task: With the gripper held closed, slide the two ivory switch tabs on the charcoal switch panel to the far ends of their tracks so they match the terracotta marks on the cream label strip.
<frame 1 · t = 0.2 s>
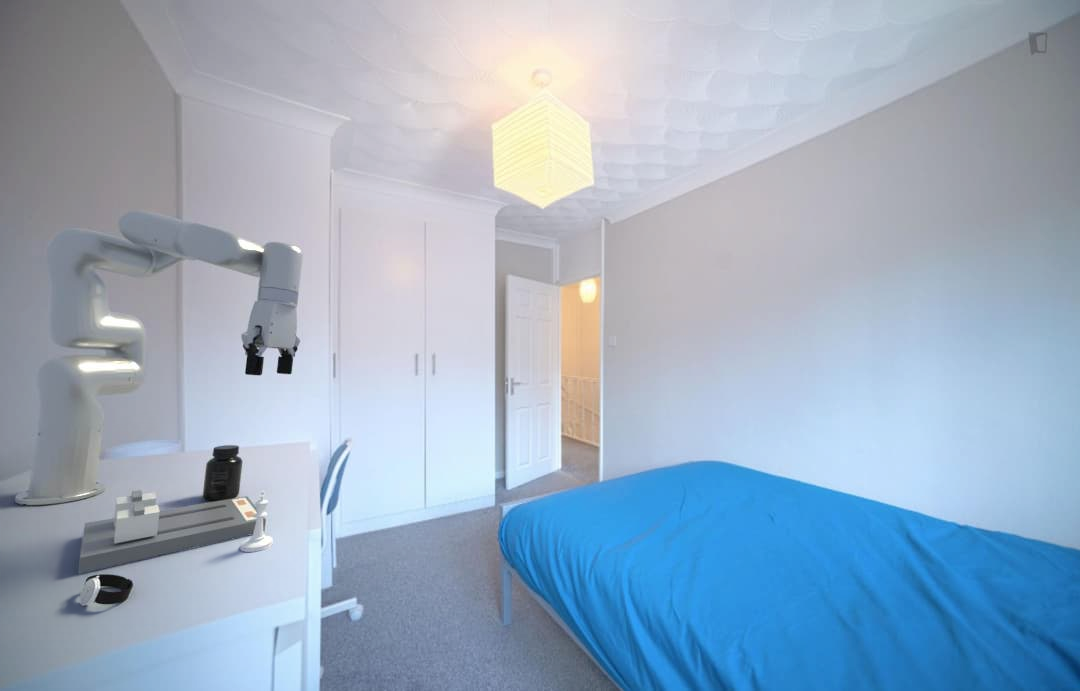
hand: (269, 374, 86), 31 cm above the table, tool pointing down, fingers open, 9 cm apart
switch b: (137, 520, 66), point 5 cm above the table, slide at 0.0 cm
chess piece: (256, 546, 71), on the table
supplement bottle: (220, 498, 92), on the table
switch panel: (178, 534, 73), on the table
watch: (105, 599, 54), on the table
switch a: (135, 506, 72), point 5 cm above the table, slide at 0.0 cm
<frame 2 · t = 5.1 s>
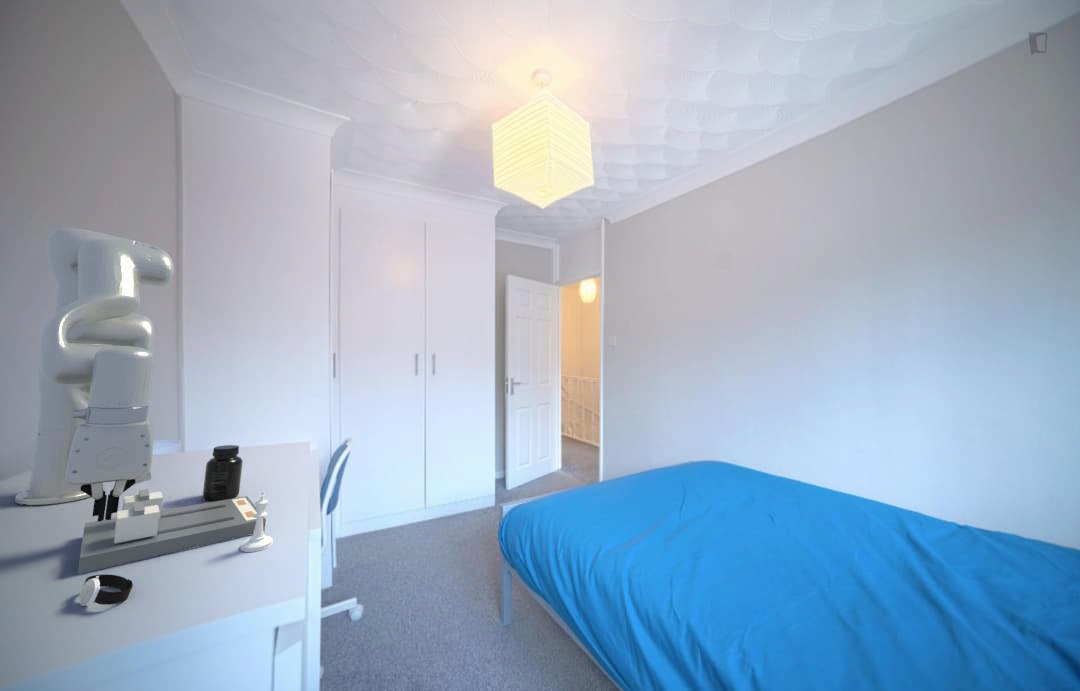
hand: (104, 518, 69), 4 cm above the table, tool pointing down, fingers closed
switch a: (142, 505, 72), point 5 cm above the table, slide at 0.9 cm, touching gripper
everything else where it was.
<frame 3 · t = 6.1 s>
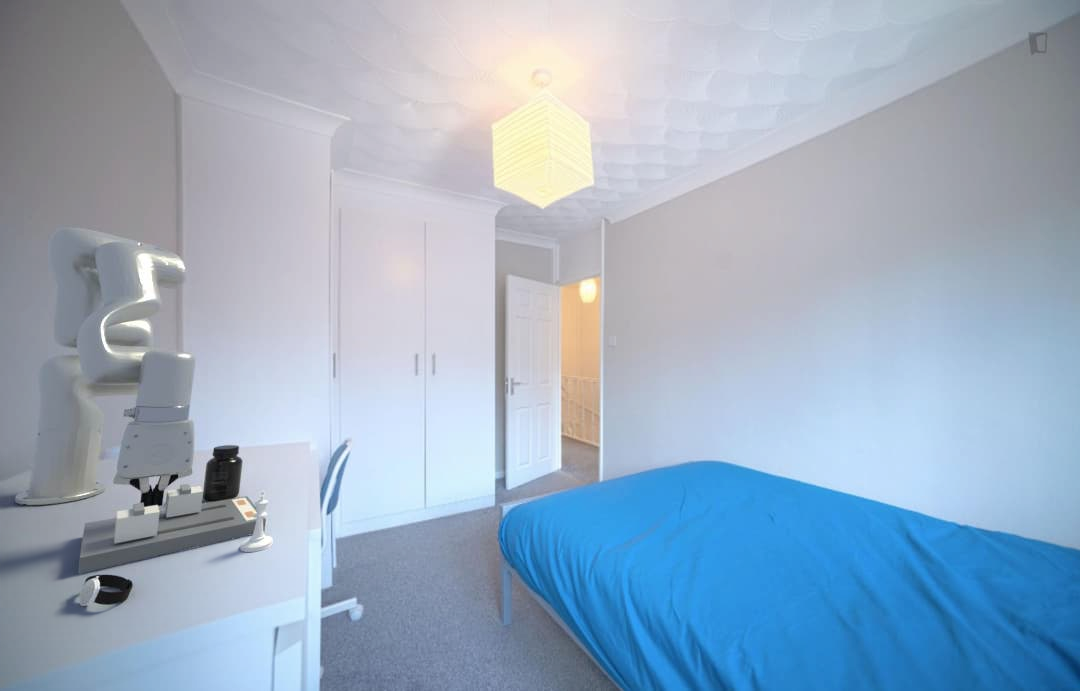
hand: (150, 510, 73), 4 cm above the table, tool pointing down, fingers closed
switch a: (184, 499, 77), point 5 cm above the table, slide at 6.8 cm, touching gripper
everything else where it was.
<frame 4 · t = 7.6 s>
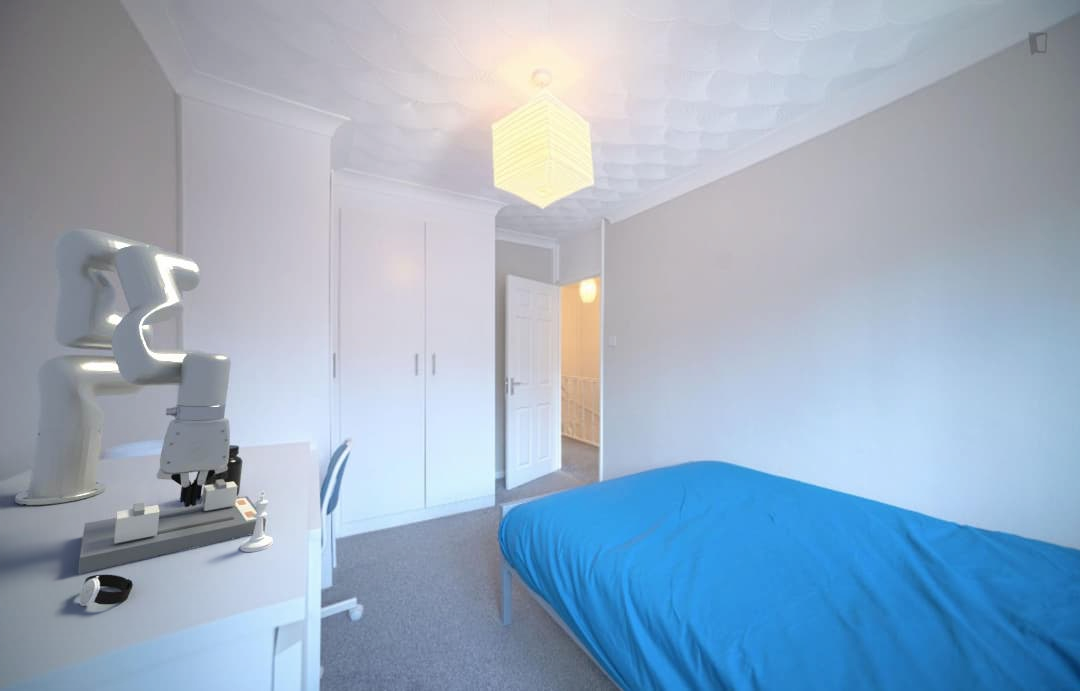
hand: (189, 504, 77), 4 cm above the table, tool pointing down, fingers closed
switch a: (219, 493, 81), point 5 cm above the table, slide at 12.3 cm, touching gripper
everything else where it was.
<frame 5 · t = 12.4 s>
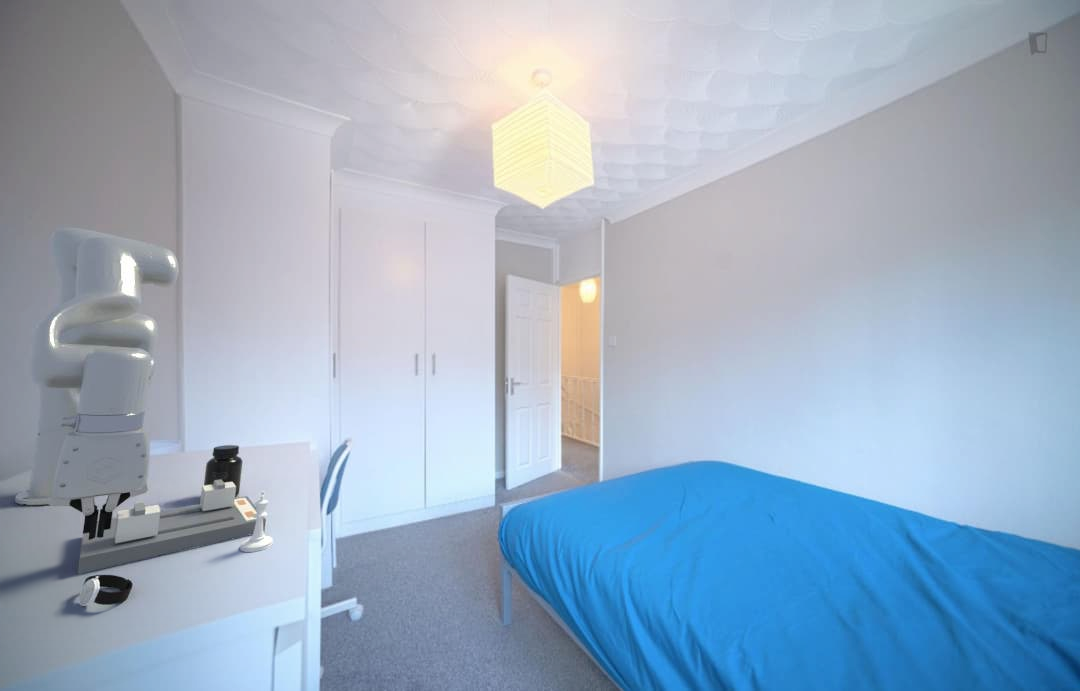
hand: (96, 535, 63), 4 cm above the table, tool pointing down, fingers closed
switch b: (138, 520, 66), point 5 cm above the table, slide at 0.1 cm, touching gripper
switch a: (218, 493, 81), point 5 cm above the table, slide at 12.0 cm
everything else where it was.
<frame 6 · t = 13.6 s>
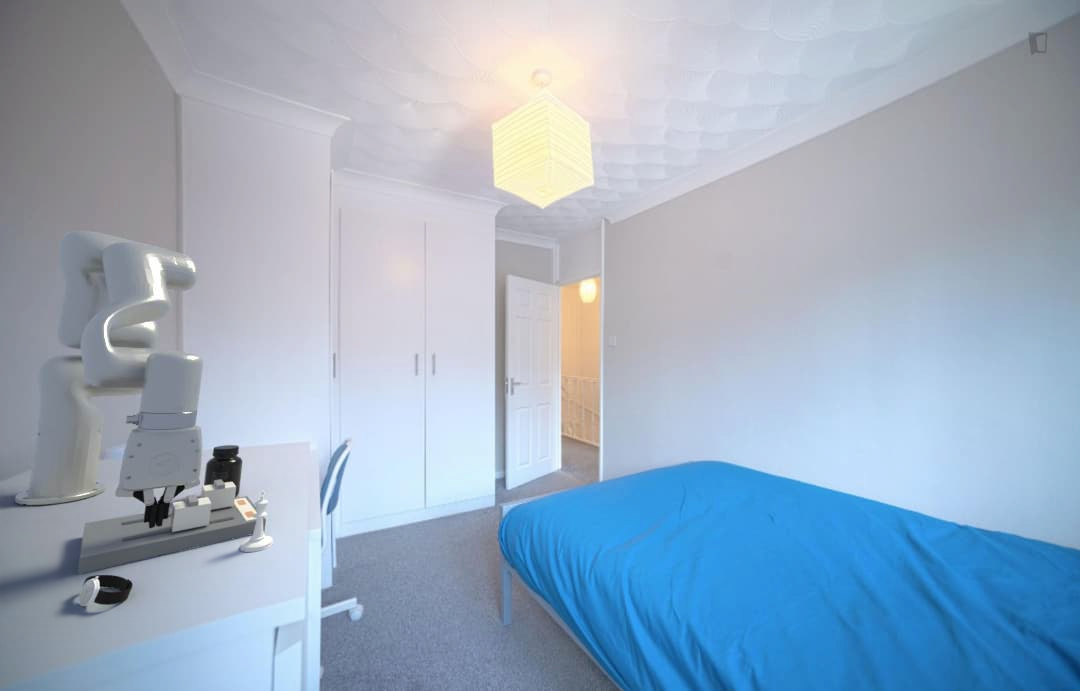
hand: (155, 524, 68), 4 cm above the table, tool pointing down, fingers closed
switch b: (191, 511, 71), point 5 cm above the table, slide at 7.0 cm, touching gripper
everything else where it was.
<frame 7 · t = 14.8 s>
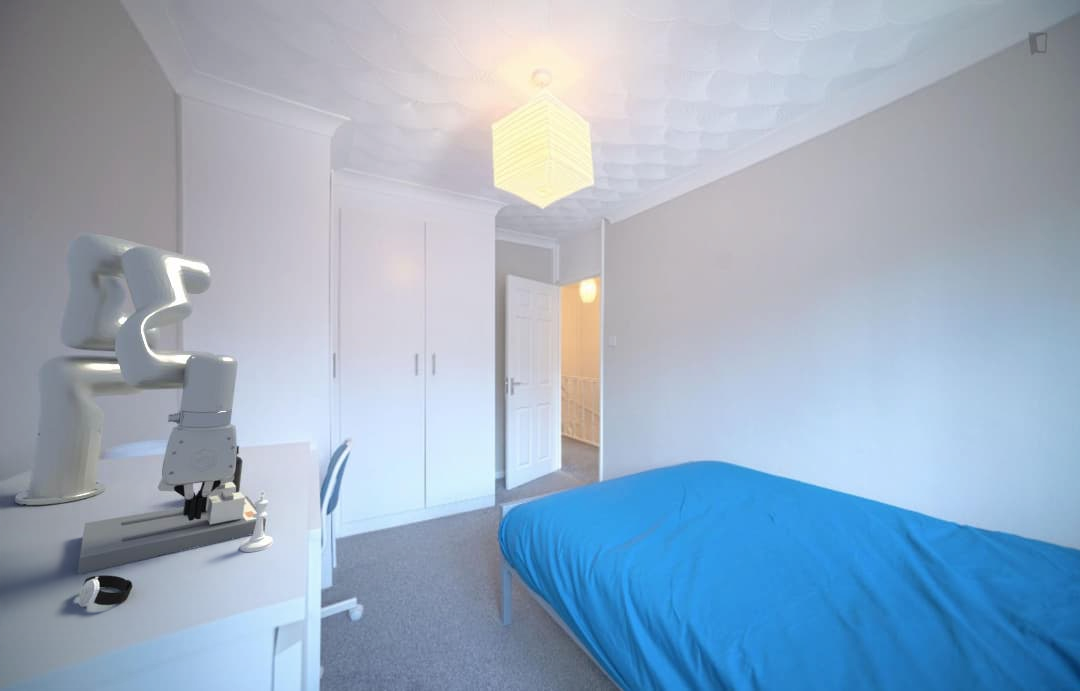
hand: (193, 517, 72), 4 cm above the table, tool pointing down, fingers closed
switch b: (226, 505, 75), point 5 cm above the table, slide at 12.1 cm, touching gripper
everything else where it was.
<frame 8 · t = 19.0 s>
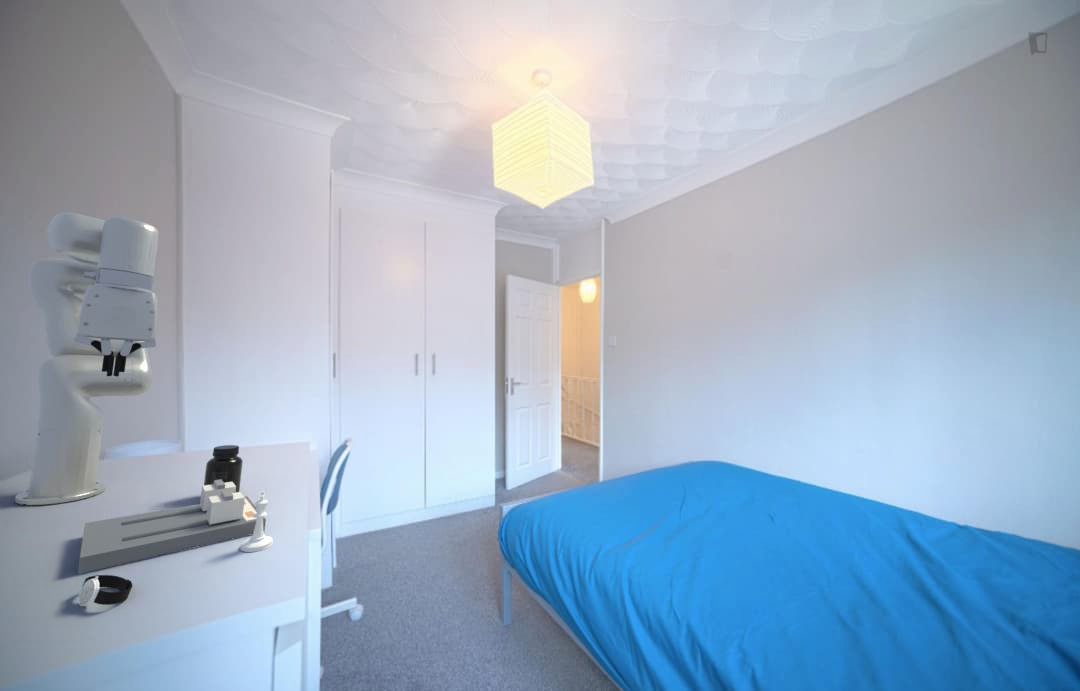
hand: (112, 375, 74), 29 cm above the table, tool pointing down, fingers closed
switch b: (225, 505, 75), point 5 cm above the table, slide at 12.0 cm
everything else where it was.
at the end: switch a slide at 12.0 cm; switch b slide at 12.0 cm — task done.
